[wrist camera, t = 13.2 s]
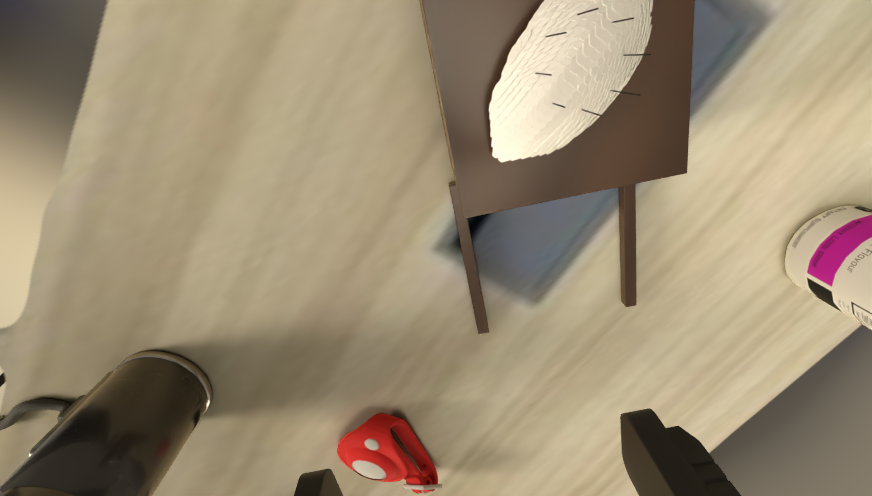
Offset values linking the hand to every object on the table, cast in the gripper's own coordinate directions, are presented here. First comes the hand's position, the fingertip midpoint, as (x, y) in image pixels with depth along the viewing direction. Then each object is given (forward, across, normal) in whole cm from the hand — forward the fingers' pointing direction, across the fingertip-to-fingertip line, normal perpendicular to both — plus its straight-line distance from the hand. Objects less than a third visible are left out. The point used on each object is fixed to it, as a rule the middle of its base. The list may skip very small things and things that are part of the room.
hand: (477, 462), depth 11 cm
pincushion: (+17, -8, -8) cm, 21 cm away
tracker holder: (+27, +11, +28) cm, 40 cm away
